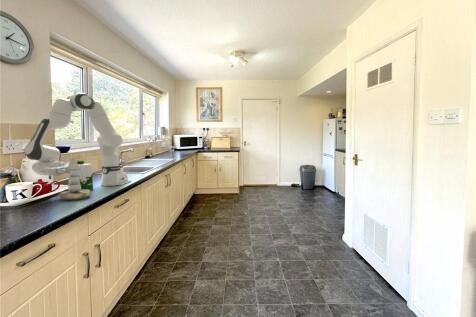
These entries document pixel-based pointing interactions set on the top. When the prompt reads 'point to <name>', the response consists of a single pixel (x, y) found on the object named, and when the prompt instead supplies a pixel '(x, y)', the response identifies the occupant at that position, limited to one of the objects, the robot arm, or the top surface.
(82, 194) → the disc
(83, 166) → the milk carton
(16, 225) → the top surface
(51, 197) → the top surface
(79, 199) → the turntable base
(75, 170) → the plastic bottle
